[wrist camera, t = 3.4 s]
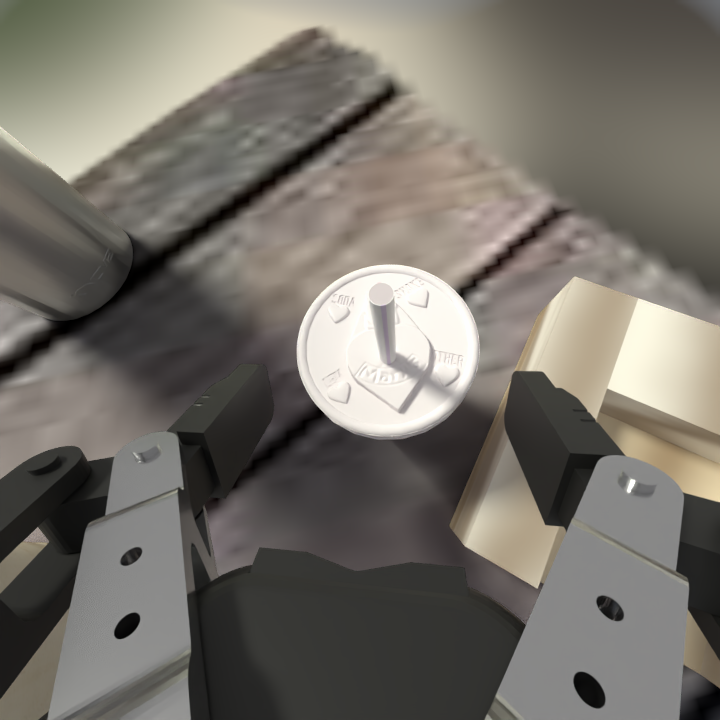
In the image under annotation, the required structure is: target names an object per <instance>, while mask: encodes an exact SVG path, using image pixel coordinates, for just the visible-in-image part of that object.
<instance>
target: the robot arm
mask: <svg viewBox="0 0 720 720" xmlns="http://www.w3.org/2000/svg"><path fill="white" fill-rule="evenodd" d="M132 260H133V248H132V244H131V241H130V239H129V237H128V235H127V234H126V232H125V231H123V230H122V229H121V228H120V227H119V226H117V225H116V224H115V223H114V222H113V221H112V220H110V219H109V218H108V217H107V216H106V215H105V214H103V213H102V212H101V211H100V210H99V209H97V208H96V207H95V206H94V205H93V204H92V203H90V202H89V201H88V200H87V199H86V198H85V197H83V196H82V195H81V194H80V193H79V192H78V191H77V190H75V189H74V188H73V187H72V186H71V185H69V184H68V183H67V182H66V181H65V180H63V179H62V178H61V177H60V176H59V175H58V174H56V173H55V172H54V171H53V170H52V169H50V168H49V167H48V166H47V165H46V164H45V163H43V162H42V161H41V160H40V159H39V158H37V157H36V156H35V155H34V154H33V153H31V152H30V151H29V150H28V149H27V148H26V147H24V146H23V145H22V144H21V143H20V142H18V141H17V140H16V139H15V138H14V137H12V136H11V135H10V134H9V133H7V131H5V130H4V129H3V128H2V127H1V126H0V300H2V301H4V302H7V303H9V304H12V305H14V306H17V307H19V308H22V309H24V310H26V311H29V312H31V313H34V314H36V315H39V316H41V317H44V318H47V319H50V320H54V321H67V320H72V319H77V318H80V317H83V316H85V315H88V314H90V313H92V312H93V311H95V310H97V309H99V308H100V307H101V306H103V305H104V304H105V303H106V302H108V301H109V300H110V299H111V298H112V297H113V296H114V295H115V294H116V293H117V291H118V290H119V289H120V288H121V286H122V285H123V283H124V282H125V280H126V278H127V276H128V273H129V271H130V269H131V264H132ZM273 411H274V403H273V398H272V393H271V388H270V383H269V378H268V373H267V369H266V367H265V366H264V365H262V364H240V365H239V366H238V367H237V368H236V369H235V370H234V371H233V372H232V373H231V374H230V375H229V376H228V378H224V379H222V380H221V381H219V382H217V383H215V384H214V385H212V386H211V387H210V388H209V389H208V390H207V391H206V392H205V393H204V394H203V395H202V397H200V398H199V399H198V400H197V401H196V402H195V403H194V405H192V406H191V407H190V408H189V409H188V410H187V411H186V412H185V413H184V414H183V415H182V416H181V417H180V418H179V419H178V420H177V421H176V422H175V423H174V424H173V425H172V426H171V427H170V428H169V429H168V430H167V431H166V432H163V431H162V432H154V433H150V434H147V435H144V436H141V437H139V438H137V439H135V440H133V441H131V442H130V443H128V444H127V445H125V446H124V447H123V448H122V449H121V450H120V451H119V452H118V453H117V454H116V456H115V457H110V458H105V459H99V460H93V461H87V459H86V457H85V456H84V454H83V452H82V451H81V449H80V448H78V447H75V446H65V447H59V448H55V449H51V450H48V451H45V452H43V453H40V454H38V455H36V456H34V457H32V458H30V459H28V460H27V461H25V462H23V463H22V464H21V465H19V466H18V467H16V468H15V469H14V470H12V471H11V472H10V473H8V474H7V475H6V476H4V477H3V478H2V479H0V563H1V562H2V561H3V560H4V559H5V558H6V557H7V556H8V555H9V554H10V553H11V552H12V551H13V550H14V549H15V548H16V547H17V546H18V545H19V544H20V543H21V542H22V541H23V540H24V539H26V538H27V537H28V536H29V535H30V534H31V533H32V532H33V531H34V530H35V529H36V528H37V527H39V529H40V530H41V531H42V533H43V534H44V535H45V536H46V538H47V539H48V540H49V543H48V544H47V545H46V546H45V547H44V548H43V549H42V550H41V551H40V552H39V553H38V554H37V556H36V557H35V558H34V559H33V560H32V561H31V562H30V563H29V564H28V565H27V566H26V567H25V568H24V569H23V570H22V571H21V572H20V573H19V574H18V575H17V577H16V578H15V579H14V580H13V581H12V582H11V583H10V584H9V585H8V586H7V587H6V588H5V589H4V590H3V591H2V592H1V593H0V699H1V698H2V697H3V695H4V694H5V693H6V691H7V690H8V689H9V687H10V686H11V685H12V683H13V682H14V681H15V679H16V678H17V677H18V675H19V674H20V673H21V671H22V670H23V669H24V667H25V666H26V665H27V663H28V662H29V661H30V659H31V658H32V657H33V655H34V654H35V653H36V651H37V650H38V649H39V647H40V646H41V645H42V643H43V642H44V641H45V639H46V638H47V637H48V635H49V634H50V633H51V631H52V630H53V629H54V627H55V626H56V625H57V623H58V622H59V621H60V619H61V618H62V617H63V616H64V614H65V613H66V612H67V610H68V609H69V608H70V609H69V614H68V619H67V624H66V629H65V634H64V639H63V644H62V649H61V654H60V659H59V664H58V669H57V674H56V679H55V684H54V689H53V694H52V699H51V703H50V708H49V711H48V712H47V713H46V714H44V715H43V716H42V717H41V718H40V719H38V720H679V715H680V702H681V689H682V675H683V662H684V649H685V636H686V623H687V610H688V611H689V612H690V614H691V615H692V617H693V619H694V620H695V622H696V623H697V625H698V627H699V628H700V630H701V631H702V633H703V635H704V636H705V638H706V640H707V641H708V643H709V644H710V646H711V648H712V649H713V651H714V652H715V654H716V656H717V657H718V659H719V660H720V502H717V501H713V500H709V499H706V498H702V497H698V496H694V495H691V494H687V493H684V492H682V490H681V488H680V487H679V485H678V484H677V483H676V482H675V481H674V480H673V479H672V478H671V477H670V476H668V475H667V474H666V473H664V472H663V471H661V470H660V469H658V468H656V467H654V466H653V465H651V464H648V463H646V462H644V461H641V460H638V459H635V458H632V457H627V456H626V455H625V454H624V453H623V452H622V451H621V449H620V448H619V447H618V446H617V445H616V443H615V442H614V441H613V440H612V439H611V437H610V436H609V435H608V434H607V433H606V431H605V430H604V429H603V428H602V427H601V425H600V424H599V423H597V422H596V420H595V418H594V417H593V416H592V415H591V414H590V412H587V409H586V408H585V406H584V405H583V404H582V403H581V402H580V400H579V399H578V398H577V397H575V396H573V395H572V394H570V393H569V392H567V391H566V390H564V389H563V388H556V387H555V386H554V385H553V384H552V382H551V381H550V380H549V378H548V377H547V376H546V374H545V373H544V372H542V371H515V372H514V373H513V375H512V379H511V383H510V388H509V393H508V398H507V403H506V408H505V413H504V424H505V430H506V433H507V435H508V438H509V440H510V442H511V445H512V447H513V450H514V452H515V454H516V457H517V459H518V461H519V464H520V466H521V469H522V471H523V473H524V476H525V478H526V480H527V483H528V485H529V488H530V490H531V492H532V495H533V497H534V499H535V502H536V504H537V507H538V509H539V511H540V514H541V516H542V518H543V521H544V523H545V525H549V526H561V527H564V528H565V530H566V534H565V537H564V539H563V541H562V544H561V546H560V548H559V550H558V553H557V555H556V557H555V560H554V562H553V564H552V567H551V569H550V571H549V574H548V576H547V578H546V581H545V583H544V585H543V587H542V590H541V592H540V594H539V597H538V599H537V601H536V604H535V606H534V608H533V611H532V613H531V615H530V617H529V620H528V622H527V624H526V625H525V624H524V623H523V622H522V621H521V620H520V619H519V618H518V617H516V616H515V615H514V614H513V613H511V612H510V611H509V610H508V609H506V608H505V607H504V606H503V605H501V604H499V603H498V602H496V601H495V600H493V599H492V598H490V597H488V596H487V595H485V594H483V593H481V592H479V591H477V590H475V589H472V588H470V587H467V581H466V575H465V568H463V567H452V566H442V565H432V564H422V563H412V562H410V563H405V564H399V565H393V566H387V567H381V568H375V569H369V570H364V571H353V570H350V569H348V568H345V567H343V566H340V565H338V564H335V563H333V562H330V561H328V560H325V559H323V558H320V557H318V556H315V555H313V554H310V553H308V552H300V551H290V550H280V549H270V548H259V550H258V553H257V555H256V558H255V560H254V563H253V565H249V566H245V567H242V568H238V569H235V570H233V571H230V572H228V573H226V574H223V575H221V576H218V572H217V568H216V563H215V557H214V551H213V546H212V540H211V534H210V529H209V523H208V518H207V512H206V509H205V507H204V505H205V503H206V501H207V500H208V498H209V497H213V498H226V497H227V495H228V494H229V492H230V490H231V489H232V487H233V485H234V483H235V482H236V480H237V478H238V477H239V475H240V473H241V471H242V470H243V468H244V466H245V465H246V463H247V461H248V459H249V458H250V456H251V454H252V453H253V451H254V449H255V447H256V446H257V444H258V442H259V441H260V439H261V437H262V435H263V434H264V432H265V430H266V428H267V427H268V425H269V423H270V422H271V420H272V417H273Z"/></svg>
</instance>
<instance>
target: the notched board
mask: <svg viewBox="0 0 720 720" xmlns="http://www.w3.org/2000/svg"><path fill="white" fill-rule="evenodd" d="M515 371H542V372H544V373H545V374H546V376H547V377H548V378H549V380H550V381H551V382H552V384H553V385H554V386H555V387H556V388H563V389H564V390H566V391H567V392H569V393H570V394H572V395H573V396H575V397H577V398H578V399H579V400H580V402H581V403H582V404H583V405H584V406H585V408H586V409H587V412H590V414H591V415H592V416H593V417H594V418H595V420H596V422H597V423H599V424H600V425H601V427H602V428H603V429H604V430H605V431H606V433H607V434H608V435H609V436H610V437H611V439H612V440H613V441H614V442H615V443H616V445H617V446H618V447H619V448H620V449H621V451H622V452H623V453H624V454H625V455H626V456H627V457H632V458H635V459H638V460H641V461H644V462H646V463H648V464H651V465H653V466H654V467H656V468H658V469H660V470H661V471H663V472H664V473H666V474H667V475H668V476H670V477H671V478H672V479H673V480H674V481H675V482H676V483H677V484H678V485H679V487H680V488H681V490H682V492H684V493H687V494H691V495H694V496H698V497H702V498H706V499H709V500H713V501H717V502H720V326H717V325H714V324H711V323H708V322H705V321H702V320H699V319H696V318H694V317H691V316H688V315H685V314H682V313H679V312H676V311H673V310H670V309H667V308H665V307H662V306H659V305H656V304H653V303H650V302H647V301H644V300H641V299H638V298H636V297H633V296H630V295H627V294H624V293H621V292H618V291H615V290H612V289H609V288H607V287H604V286H601V285H598V284H595V283H592V282H589V281H586V280H583V279H580V278H578V277H575V276H574V277H573V279H572V280H571V281H570V282H569V283H568V284H567V285H566V286H565V287H564V288H563V289H562V290H561V291H560V292H559V293H558V294H557V295H556V297H555V298H554V299H553V300H552V301H551V302H550V303H549V304H548V305H547V306H546V307H545V308H544V309H543V310H542V311H541V312H540V313H539V315H538V317H537V319H536V321H535V324H534V326H533V328H532V331H531V333H530V335H529V338H528V340H527V343H526V345H525V347H524V350H523V352H522V354H521V357H520V359H519V361H518V364H517V366H516V369H515ZM515 371H514V372H515ZM511 379H512V378H511ZM510 383H511V380H510ZM510 383H509V385H508V387H507V390H506V392H505V395H504V397H503V399H502V402H501V404H500V406H499V409H498V411H497V414H496V416H495V418H494V421H493V423H492V425H491V428H490V430H489V432H488V435H487V437H486V440H485V442H484V444H483V447H482V449H481V451H480V454H479V456H478V458H477V461H476V463H475V466H474V468H473V470H472V473H471V475H470V477H469V480H468V482H467V484H466V487H465V489H464V492H463V494H462V496H461V499H460V501H459V503H458V506H457V508H456V510H455V513H454V515H453V518H452V520H451V522H450V525H449V527H450V528H451V529H452V530H453V532H454V533H455V534H456V536H457V537H458V538H459V539H460V541H461V542H462V543H463V544H464V546H465V547H467V548H469V549H470V550H472V551H474V552H476V553H477V554H479V555H481V556H482V557H484V558H486V559H488V560H489V561H491V562H493V563H494V564H496V565H498V566H500V567H501V568H503V569H505V570H506V571H508V572H510V573H512V574H513V575H515V576H517V577H518V578H520V579H522V580H524V581H525V582H527V583H529V584H530V585H532V586H534V587H535V588H537V589H538V586H539V583H540V582H542V583H543V584H544V583H545V581H546V578H547V576H548V574H549V571H550V569H551V567H552V564H553V562H554V560H555V557H556V555H557V553H558V550H559V548H560V546H561V544H562V541H563V539H564V537H565V534H566V530H565V528H564V527H561V526H549V525H545V523H544V521H543V518H542V516H541V514H540V511H539V509H538V507H537V504H536V502H535V499H534V497H533V495H532V492H531V490H530V488H529V485H528V483H527V480H526V478H525V476H524V473H523V471H522V469H521V466H520V464H519V461H518V459H517V457H516V454H515V452H514V450H513V447H512V445H511V442H510V440H509V438H508V435H507V433H506V430H505V424H504V413H505V408H506V403H507V398H508V393H509V388H510ZM683 665H685V666H687V667H689V668H690V669H692V670H694V671H695V672H697V673H699V674H700V675H702V676H703V677H705V678H706V679H708V680H709V681H710V682H712V683H713V684H715V685H716V686H717V687H719V688H720V660H719V659H718V657H717V656H716V654H715V652H714V651H713V649H712V648H711V646H710V644H709V643H708V641H707V640H706V638H705V636H704V635H703V633H702V631H701V630H700V628H699V627H698V625H697V623H696V622H695V620H694V619H693V617H692V615H691V614H690V612H689V611H688V610H687V623H686V636H685V649H684V662H683Z"/></svg>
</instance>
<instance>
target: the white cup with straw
mask: <svg viewBox="0 0 720 720" xmlns="http://www.w3.org/2000/svg"><path fill="white" fill-rule="evenodd" d="M479 354H480V343H479V335H478V331H477V327H476V324H475V321H474V318H473V316H472V314H471V312H470V310H469V308H468V307H467V305H466V303H465V302H464V301H463V299H462V298H461V297H460V296H459V295H458V293H457V292H456V291H455V290H454V289H452V288H451V287H450V286H449V285H448V284H446V283H445V282H444V281H442V280H441V279H439V278H438V277H436V276H434V275H432V274H430V273H428V272H425V271H423V270H420V269H417V268H413V267H408V266H403V265H377V266H371V267H366V268H362V269H359V270H356V271H354V272H351V273H349V274H347V275H345V276H343V277H341V278H340V279H338V280H337V281H335V282H333V283H332V284H331V285H330V286H328V287H327V288H326V289H325V290H324V291H323V292H322V293H321V294H320V295H319V296H318V297H317V298H316V299H315V301H314V302H313V304H312V305H311V306H310V308H309V310H308V311H307V313H306V315H305V317H304V319H303V322H302V325H301V327H300V331H299V335H298V341H297V363H298V369H299V373H300V377H301V379H302V382H303V384H304V386H305V389H306V391H307V392H308V394H309V396H310V397H311V399H312V400H313V401H314V403H315V404H316V405H317V406H318V407H319V408H320V409H321V410H322V411H323V412H324V413H325V414H326V415H327V416H328V417H329V418H330V419H331V420H332V421H333V422H334V423H336V424H337V425H339V426H341V427H343V428H344V429H346V430H348V431H350V432H351V433H353V434H356V435H360V436H364V437H369V438H373V439H377V440H387V439H404V438H408V437H411V436H414V435H418V434H421V433H424V432H427V431H428V430H430V429H432V428H433V427H435V426H436V425H438V424H439V423H441V422H443V421H444V420H446V419H447V418H448V417H449V416H450V415H451V414H452V412H453V411H454V410H455V409H456V408H457V407H458V406H459V405H460V403H461V402H462V401H463V399H464V397H465V395H466V394H467V392H468V390H469V389H470V387H471V385H472V382H473V380H474V378H475V375H476V372H477V368H478V363H479Z"/></svg>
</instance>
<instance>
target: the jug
mask: <svg viewBox="0 0 720 720" xmlns="http://www.w3.org/2000/svg"><path fill="white" fill-rule="evenodd" d="M47 544H48V543H31V542H21V543H20V544H19V545H18V546H17V547H16V548H15V549H14V550H13V551H12V552H11V553H10V554H9V555H8V556H7V557H6V558H5V559H4V560H3V561H2V562H1V563H0V593H1V592H2V591H3V590H4V589H5V588H6V587H7V586H8V585H9V584H10V583H11V582H12V581H13V580H14V579H15V578H16V577H17V575H18V574H19V573H20V572H21V571H22V570H23V569H24V568H25V567H26V566H27V565H28V564H29V563H30V562H31V561H32V560H33V559H34V558H35V557H36V556H37V554H38V553H39V552H40V551H41V550H42V549H43V548H44V547H45V546H46V545H47ZM69 609H70V608H69ZM69 609H68V610H67V612H66V613H65V614H64V616H63V617H62V618H61V619H60V621H59V622H58V623H57V625H56V626H55V627H54V629H53V630H52V631H51V633H50V634H49V635H48V637H47V638H46V639H45V641H44V642H43V643H42V645H41V646H40V647H39V649H38V650H37V651H36V653H35V654H34V655H33V657H32V658H31V659H30V661H29V662H28V663H27V665H26V666H25V667H24V669H23V670H22V671H21V673H20V674H19V675H18V677H17V678H16V679H15V681H14V682H13V683H12V685H11V686H10V687H9V689H8V690H7V691H6V693H5V694H4V695H3V697H2V698H1V699H0V720H38V719H40V718H41V717H42V716H43V715H44V714H46V713H47V712H48V711H49V708H50V703H51V699H52V694H53V689H54V684H55V679H56V674H57V669H58V664H59V659H60V654H61V649H62V644H63V639H64V634H65V629H66V624H67V619H68V614H69Z"/></svg>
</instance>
